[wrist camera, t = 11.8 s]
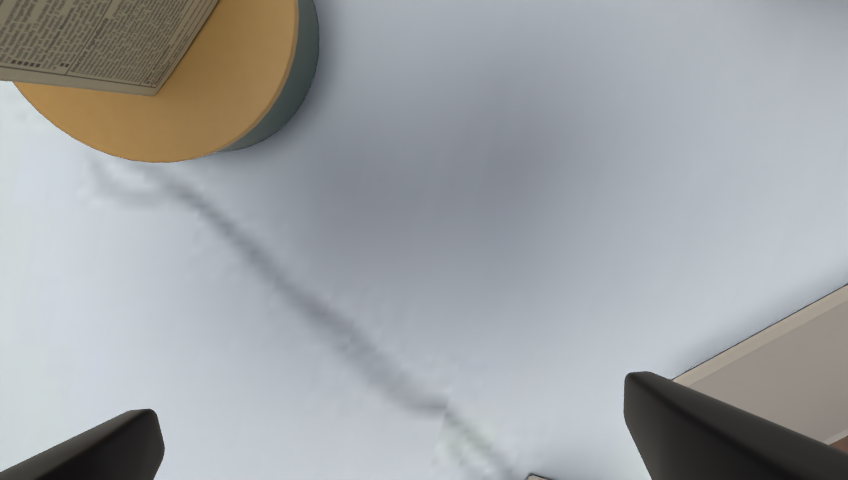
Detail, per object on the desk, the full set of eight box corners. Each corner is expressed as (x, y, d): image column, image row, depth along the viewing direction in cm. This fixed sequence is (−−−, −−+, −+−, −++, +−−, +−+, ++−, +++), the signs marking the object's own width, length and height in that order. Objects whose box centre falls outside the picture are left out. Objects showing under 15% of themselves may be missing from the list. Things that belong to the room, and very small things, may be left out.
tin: (306, -119, 18) (268, -204, 13) (337, 147, 20) (315, 151, 16) (47, -98, 18) (-76, -174, 13) (110, 165, 20) (23, 173, 16)
